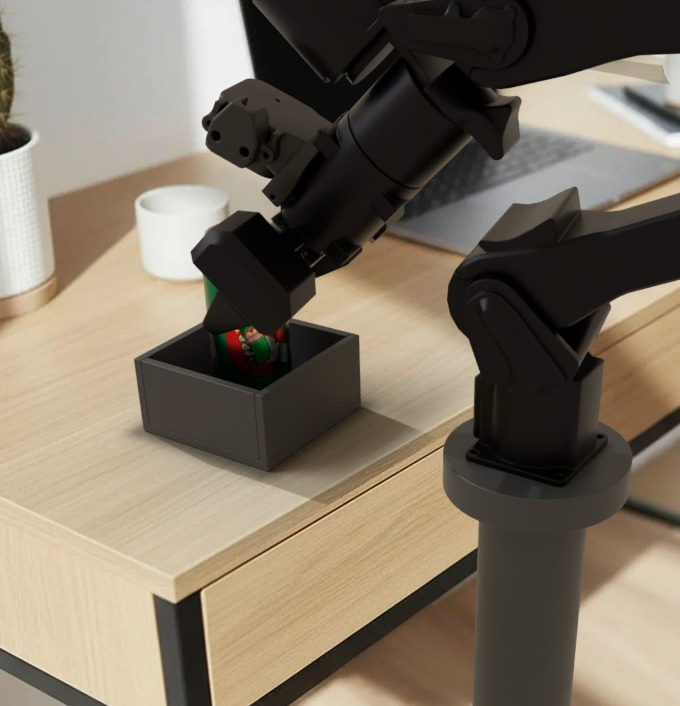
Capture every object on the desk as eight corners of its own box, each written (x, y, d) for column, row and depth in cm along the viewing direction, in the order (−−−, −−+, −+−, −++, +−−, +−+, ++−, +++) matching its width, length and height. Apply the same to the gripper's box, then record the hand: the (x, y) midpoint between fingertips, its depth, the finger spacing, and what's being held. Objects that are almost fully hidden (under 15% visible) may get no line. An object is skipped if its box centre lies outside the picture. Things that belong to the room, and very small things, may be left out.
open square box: (361, 405, 80) (359, 334, 77) (267, 472, 73) (262, 396, 70) (241, 371, 85) (235, 303, 82) (143, 430, 78) (133, 358, 75)
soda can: (237, 387, 81) (220, 214, 75) (306, 396, 80) (295, 219, 73) (204, 421, 77) (183, 241, 71) (276, 431, 76) (261, 247, 69)
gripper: (351, 3, 72) (207, 173, 82) (205, 71, 57) (51, 269, 67) (476, 143, 73) (320, 295, 83) (364, 245, 59) (191, 414, 69)
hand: (228, 313), depth 75 cm, fingers closed on soda can, 5 cm apart
